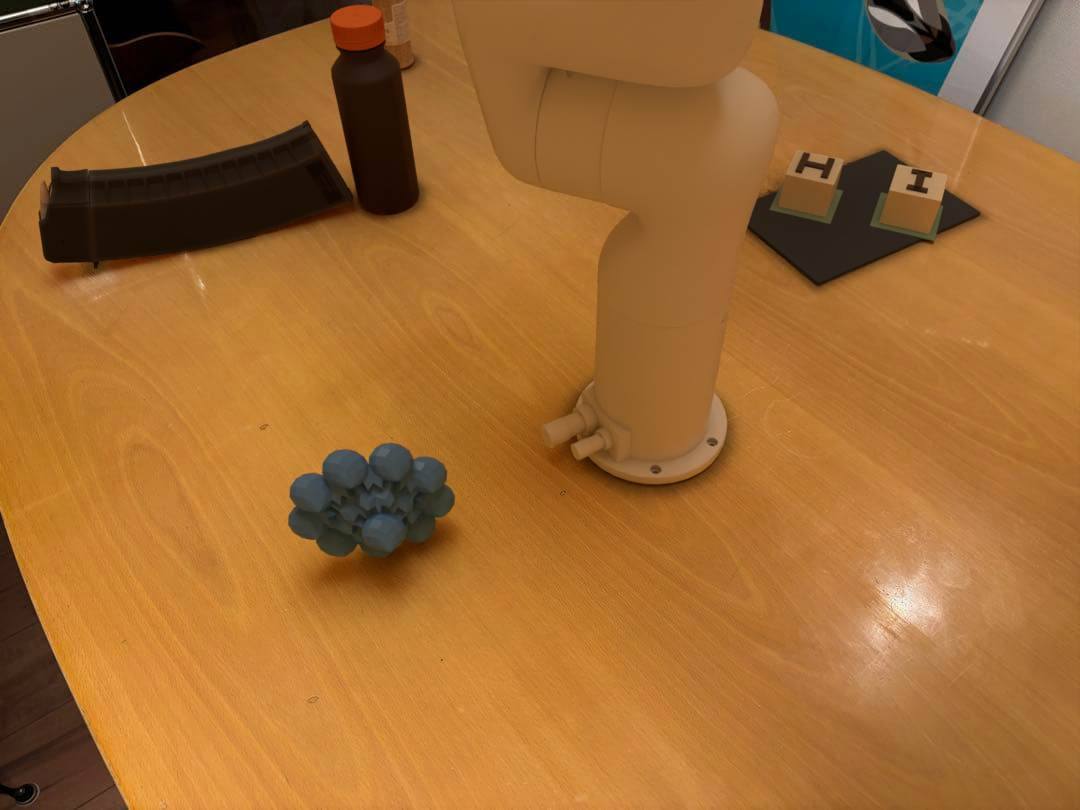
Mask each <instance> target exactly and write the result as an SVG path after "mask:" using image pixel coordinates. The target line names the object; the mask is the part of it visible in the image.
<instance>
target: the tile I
mask: <svg viewBox="0 0 1080 810" xmlns="http://www.w3.org/2000/svg"><path fill="white" fill-rule="evenodd" d="M909 166H910V165H908V166H904V165H899V164H898V165H897V168H896V171H895V174H894V177H893V180H892V183H891V186H890V189H889V192H888V196H887V199H886V202H885V205H884V208H883V211H882V214H881V217H880V220H879V223H883V224H887V225H891V226H896V227H900V228H905V229H909V230H913V231H918V232H922V233H926V234H929V233H930V230H931V228H932V225H933V222H934V220H935V217H936V214H937V212H938V209H939V207H940V204H941V201H942V197H943V193H944V190H945V189H946V185H947V182H948V178H949V174H947V173H942V172H937V171H933V170H927V169H922V168H918V167H914V166H910V167H909Z"/></svg>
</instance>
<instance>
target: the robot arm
mask: <svg viewBox="0 0 1080 810" xmlns="http://www.w3.org/2000/svg"><path fill="white" fill-rule="evenodd" d="M451 3H452V10H453V16H454V20H455V25H456V28H457V32H458V37H459V40H460V44H461V48H462V50H463V54H464V58H465V61H466V64H467V67H468V71H469V75H470V77H471V81H472V84H473V87H474V91H475V94H476V97H477V102H478V104H479V107H480V110H481V114H482V118H483V121H484V124H485V127H486V130H487V134H488V137H489V140H490V143H491V146H492V148H493V151H494V153H495V155H496V157H497V160H498V162H499V163H500V165H501V166H502V168H503V169H504V170H505V171H506V172H507V173H508V174H509V175H510V176H511V177H513V178H515V179H516V180H518V181H520V182H522V183H523V184H524V183H525V184H526V185H531V186H533V187H536V188H540V189H544V190H547V191H551V192H556V193H559V194H563V195H567V196H571V197H576V198H580V199H584V200H587V201H592V202H597V203H601V204H606V205H607V206H609V207H614V208H617V209H621V210H624V211H627V212H628V213H627V214H626V215H625V216H624V217H623V218H622V219H621V220H620V221H618V223H617V224H616V225H615V226H614V227H613V229H612V230H611V231H610V233H609V234H608V236H607V238H606V239H605V241H604V243H603V245H602V247H601V250H600V253H599V257H598V264H597V275H596V276H597V289H596V290H597V292H596V294H597V295H596V318H595V319H596V323H595V326H596V327H595V346H594V347H595V348H594V375H593V377H594V378H593V380H592V381H591V382H590V383H589V384H588V385H587V386H586V387H585V388H584V389H582V391H581V394H580V396H579V397H578V400H577V402H576V405H575V407H572V411H571V413H570V414H567V415H565V416H563V417H558V418H556V419H553V420H551V421H549V422H547V423H544V424H542V425H540V426H539V432H540V436H541V438H542V440H543V442H544V444H545V445H546V446H547V447H548V448H549V449H551V448H554V447H556V446H558V445H561V444H563V443H565V442H567V441H570V440H571V438H573V437H576V439H577V441H576V442H573V443H571V444H570V451H571V454H572V456H573V457H574V458H575V459H576V460H577V461H581V460H582V459H586V458H587V457H588V458H589V459H590V460H591V462H593V463H594V464H595V465H596V466H598V467H599V468H600V469H601V470H603V471H604V472H607V473H609V474H610V475H612V476H614V477H617V478H620V479H623V480H625V481H627V482H632V483H638V484H643V485H666V484H674V483H678V482H681V481H684V480H687V479H690V478H692V477H694V476H696V475H698V474H700V473H702V472H703V471H704V470H706V469H707V468H708V467H710V466H711V465H712V464H713V462H714V461H715V460H716V459H717V458H718V457H719V455H720V454H721V451H722V449H723V447H724V446H725V441H726V437H727V432H728V418H727V411H726V409H725V407H724V405H723V402H722V400H721V399H720V397H719V396H718V395H717V393H716V392H715V391H716V384H717V379H718V373H719V368H720V362H721V357H722V353H723V352H722V351H723V347H724V342H725V336H726V331H727V325H728V318H729V313H730V308H731V303H732V297H733V293H734V288H735V284H736V283H735V282H736V277H737V272H738V266H739V261H740V259H741V253H742V248H743V245H744V241H745V238H746V237H745V236H746V233H747V230H748V228H747V227H748V224H749V220H750V217H751V214H752V211H753V208H754V206H755V203H756V200H757V199H758V198H759V194H760V192H761V190H762V186H763V184H764V181H765V180H766V176H767V174H768V171H769V168H770V166H771V163H772V160H773V156H774V153H775V150H776V146H777V142H778V136H779V131H780V110H779V105H778V101H777V99H776V96H775V95H774V93H773V91H772V90H771V89H770V87H769V85H768V84H767V83H766V82H764V81H763V79H761V78H760V77H759V76H757V75H756V74H754V73H753V72H751V71H749V70H748V69H746V68H744V67H742V66H740V64H741V63H742V62H743V60H744V59H745V58H746V57H747V55H748V54H749V51H750V49H751V48H752V45H753V43H754V41H755V38H756V35H757V32H758V30H759V29H758V28H759V25H760V19H761V16H762V11H763V6H764V0H451Z"/></svg>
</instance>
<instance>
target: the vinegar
mask: <svg viewBox="0 0 1080 810" xmlns="http://www.w3.org/2000/svg"><path fill="white" fill-rule="evenodd" d="M329 24H330V28H331V33H332V38H333V42H334V44H335V49H336V50H337V51H338V52H339V55H338V56H337V58H336V59H335V61H334V63H333V64H332V66H331V67H330V76H331V81H332V86H333V90H334V95H335V100H336V105H337V109H338V114H339V119H340V122H341V128H342V132H343V137H344V141H345V146H346V150H347V151H346V152H347V155H348V160H349V164H350V165H349V166H350V170H351V174H352V178H353V183H354V189H355V192H356V197H357V201H358V204H360V206H361V207H362V208H364V209H365V210H367V211H369V212H372V213H376V214H379V215H380V214H381V215H382V214H383V215H388V214H389V215H390V214H396V213H399V212H403V211H404V210H407V209H408V208H409V207H411V206H413V205H414V204H415V203H416V202H417V200H418V198H419V195H420V187H419V179H418V175H417V167H416V166H417V165H416V161H415V160H416V159H415V154H414V148H413V140H412V134H411V127H410V120H409V114H408V108H407V107H408V106H407V102H406V95H405V87H404V82H403V81H404V80H403V74H402V69H401V68H400V63H399V61H398V60H397V59H396V57H395V56H394V55H393V54H391V53H390V52H388V51H387V50H386V49H384V45H385V43H386V35H385V27H384V21H383V15H382V12H381V10H379V9H378V8H375V7H373V6H372V5H367V4H354V5H349V6H348V5H347V6H345V7H341V8H339V9H337V10H335V11H334V12H332V14H331V15H330V16H329Z"/></svg>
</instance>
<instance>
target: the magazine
mask: <svg viewBox="0 0 1080 810" xmlns="http://www.w3.org/2000/svg"><path fill="white" fill-rule="evenodd" d="M354 199H355V197H354V195H353V192H352V189H351V188H350V187H349V186H348V184H347V183H346V181H345V179H344V178H343V176H342V174H341V173H340V170H339V169H338V168H337V166H336V164H335V163H334V161H333V160H332V158H331V156H330V154H329V153H328V151H327V149H326V148H325V146H324V144H323V143H322V141H321V139H320V138H319V136H318V135H317V133H316V131H315V130H314V128H313V127H312V125H311V123H310V121H309V120H308V119H306V120H304V121H303V122H301V123H300V124H298V125H296V126H294V127H292V128H290V129H288V130H286V131H283V132H281V133H278V134H275V135H273V136H270V137H267V138H265V139H262V140H258V141H256V142H253V143H248V144H244V145H240V146H236V147H233V148H228V149H223V150H219V151H217V152H212V153H209V154H205V155H201V156H195V157H191V158H187V159H182V160H175V161H169V162H162V163H156V164H149V165H143V166H142V165H141V166H131V167H119V168H118V167H117V168H106V169H104V168H103V169H88V168H82V169H77V170H63V169H60V167H59V166H50V183H49V185H47V183H46V181H45V180H44V179H41V181H40V187H39V210H38V212H37V214H38V219H39V220H38V228H39V236H40V242H41V249H42V256H43V258H44V260H45V261H47V262H49V263H52V264H77V263H78V264H81V263H82V264H83V263H84V264H85V263H92V265H93V269H94V270H97V269H98V268H99V265H100V262H101V263H103V262H111V261H122V260H132V259H133V260H134V259H141V258H151V257H159V256H168V255H174V254H175V255H176V254H180V253H181V254H182V253H186V252H192V251H197V250H202V249H207V248H211V247H215V246H220V245H224V244H227V243H228V244H229V243H233V242H236V241H239V240H240V241H241V240H243V239H247V238H251V237H253V236H257V235H258V236H259V235H260V234H261V235H262V234H264V233H267V232H271V231H274V230H276V229H279V228H283V227H286V226H288V225H292V224H294V223H296V222H299V221H302V220H305V219H308V218H310V217H314V216H317V215H318V214H321V213H324V212H326V211H329V210H332V209H335V208H337V207H340V206H343V205H346V204H348V203H349V204H352V203H354V202H355V200H354Z"/></svg>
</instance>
